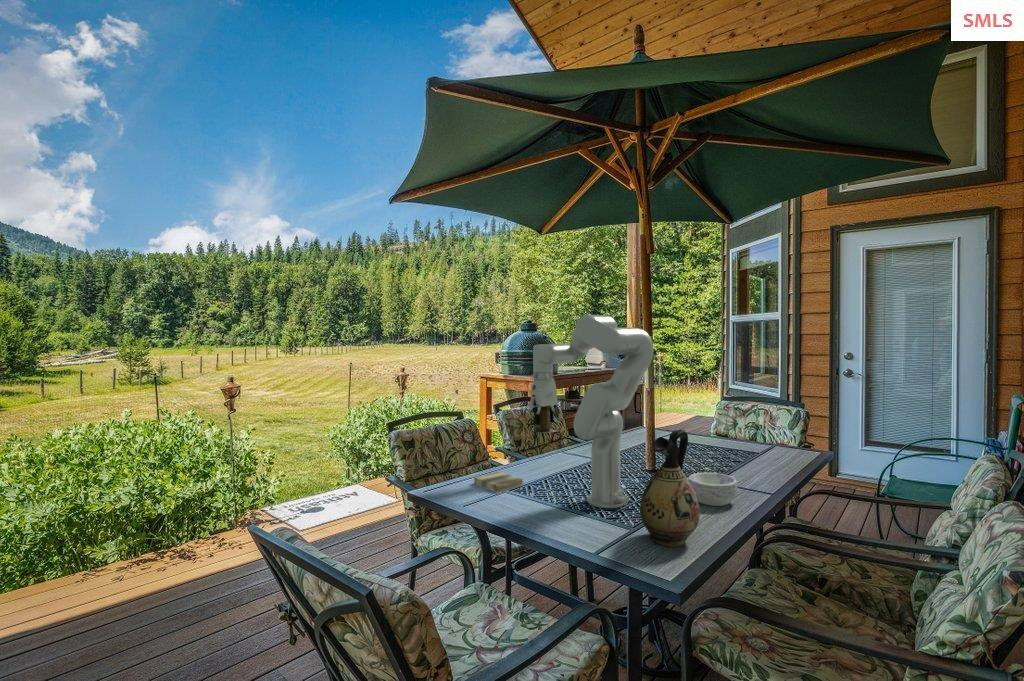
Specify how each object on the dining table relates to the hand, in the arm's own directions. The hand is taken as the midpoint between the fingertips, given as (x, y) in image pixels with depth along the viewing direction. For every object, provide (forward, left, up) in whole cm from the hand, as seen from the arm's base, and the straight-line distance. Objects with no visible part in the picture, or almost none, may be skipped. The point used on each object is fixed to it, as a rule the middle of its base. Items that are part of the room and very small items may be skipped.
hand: (543, 422), depth 191 cm
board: (+7, +17, -22) cm, 29 cm away
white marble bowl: (-55, -25, -22) cm, 64 cm away
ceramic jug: (-63, +12, -22) cm, 68 cm away
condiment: (0, 0, -3) cm, 3 cm away
